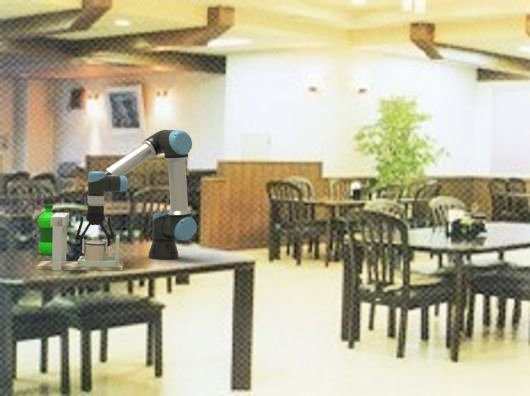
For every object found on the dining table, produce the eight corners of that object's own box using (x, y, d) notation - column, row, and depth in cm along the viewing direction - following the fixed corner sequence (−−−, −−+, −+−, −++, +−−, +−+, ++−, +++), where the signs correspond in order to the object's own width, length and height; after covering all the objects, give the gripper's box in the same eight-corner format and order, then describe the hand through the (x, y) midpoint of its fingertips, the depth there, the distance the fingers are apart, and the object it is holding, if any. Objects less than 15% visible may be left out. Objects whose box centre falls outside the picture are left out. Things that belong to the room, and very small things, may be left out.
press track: (123, 265, 445) (123, 262, 445) (122, 270, 428) (122, 267, 428) (41, 264, 441) (41, 260, 441) (37, 269, 424) (37, 266, 424)
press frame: (68, 263, 446) (69, 212, 444) (63, 270, 422) (64, 217, 420) (55, 263, 445) (56, 212, 443) (49, 270, 421) (50, 217, 419)
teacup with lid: (108, 262, 435) (109, 237, 435) (94, 263, 428) (96, 238, 427) (89, 259, 442) (90, 234, 441) (75, 260, 434) (76, 235, 434)
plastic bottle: (61, 254, 475) (62, 205, 473) (41, 255, 469) (42, 205, 467) (54, 252, 483) (54, 203, 481) (34, 253, 477) (34, 204, 475)
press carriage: (119, 261, 445) (119, 233, 444) (117, 267, 428) (118, 237, 427) (80, 261, 443) (81, 232, 442) (77, 266, 426) (78, 236, 425)
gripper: (120, 204, 438) (119, 252, 440) (71, 203, 436) (70, 251, 437) (120, 206, 431) (119, 254, 432) (70, 205, 428) (69, 253, 430)
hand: (94, 253), depth 435 cm, fingers open, 10 cm apart
